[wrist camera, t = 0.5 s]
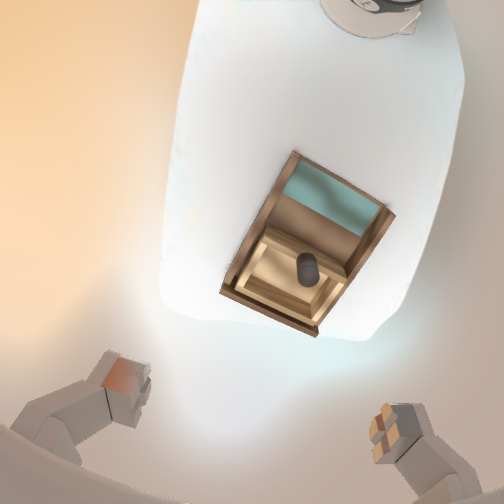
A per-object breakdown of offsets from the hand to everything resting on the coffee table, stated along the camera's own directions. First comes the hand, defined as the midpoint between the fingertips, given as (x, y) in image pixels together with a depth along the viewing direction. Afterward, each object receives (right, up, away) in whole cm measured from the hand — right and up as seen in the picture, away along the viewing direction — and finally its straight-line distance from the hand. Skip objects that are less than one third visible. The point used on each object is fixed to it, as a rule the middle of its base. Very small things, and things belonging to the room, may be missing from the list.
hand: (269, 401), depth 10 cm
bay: (+8, +7, +43) cm, 44 cm away
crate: (+6, +2, +44) cm, 44 cm away
